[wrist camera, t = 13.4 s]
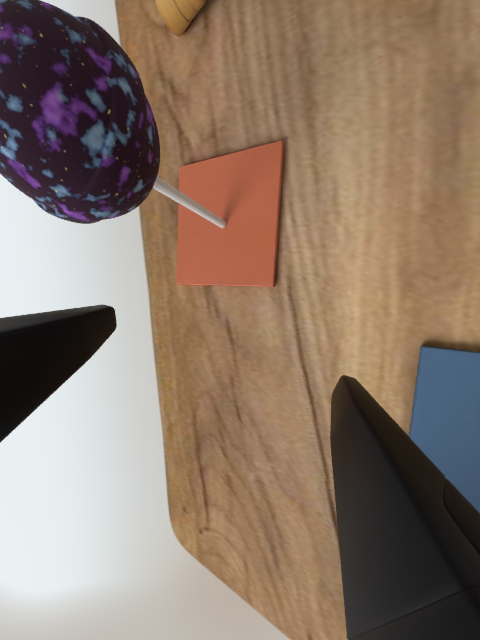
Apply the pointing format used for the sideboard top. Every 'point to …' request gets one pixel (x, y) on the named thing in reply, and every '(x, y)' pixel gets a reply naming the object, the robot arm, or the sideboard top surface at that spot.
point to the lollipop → (75, 118)
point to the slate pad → (449, 416)
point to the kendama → (179, 13)
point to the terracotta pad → (231, 218)
